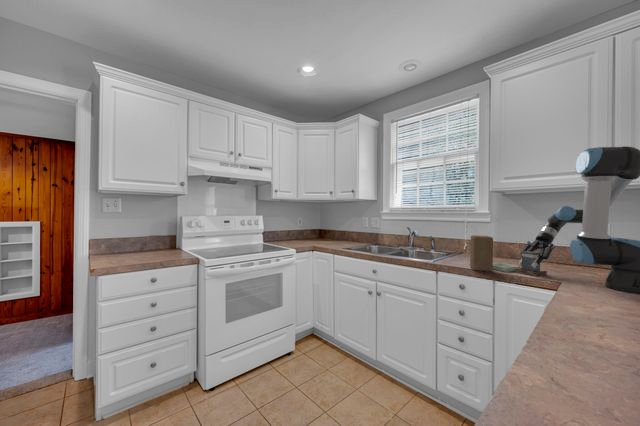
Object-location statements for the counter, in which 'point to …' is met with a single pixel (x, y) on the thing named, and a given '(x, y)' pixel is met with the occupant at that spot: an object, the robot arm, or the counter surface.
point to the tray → (504, 267)
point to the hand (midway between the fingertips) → (526, 265)
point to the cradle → (530, 272)
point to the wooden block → (481, 253)
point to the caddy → (529, 261)
